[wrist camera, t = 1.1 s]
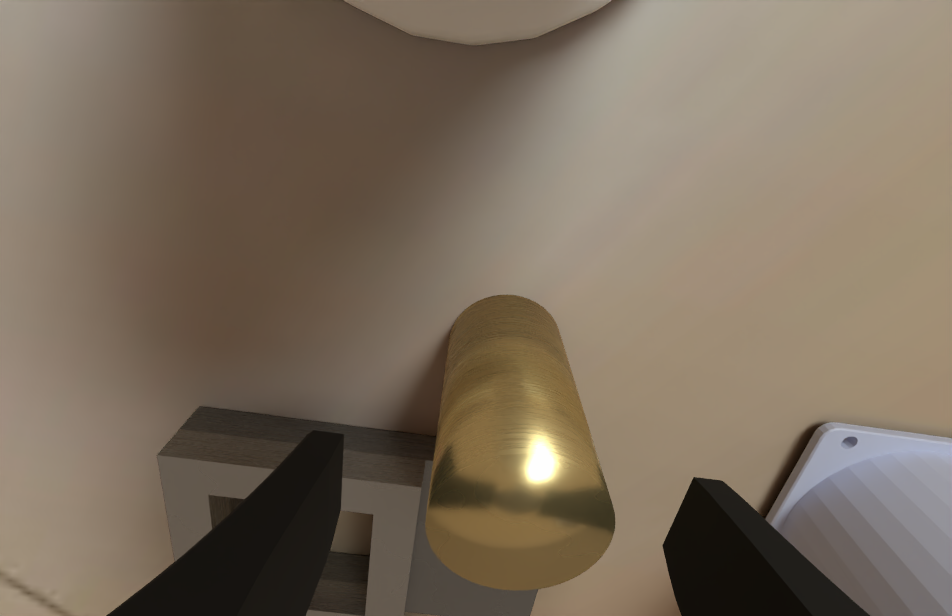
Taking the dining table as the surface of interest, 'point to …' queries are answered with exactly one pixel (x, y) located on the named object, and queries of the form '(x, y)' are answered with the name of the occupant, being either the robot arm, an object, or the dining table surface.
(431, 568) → the lower link
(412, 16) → the decorative container
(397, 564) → the upper link
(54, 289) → the dining table surface
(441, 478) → the pin
